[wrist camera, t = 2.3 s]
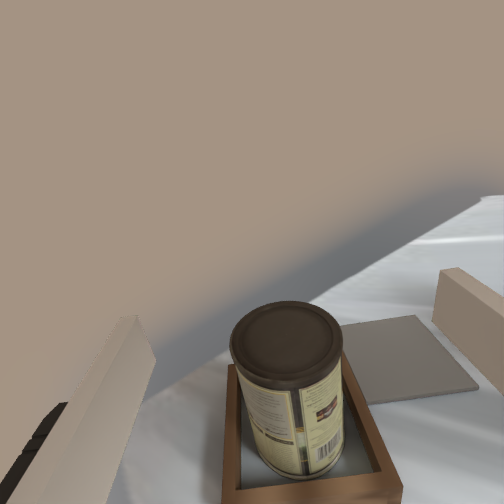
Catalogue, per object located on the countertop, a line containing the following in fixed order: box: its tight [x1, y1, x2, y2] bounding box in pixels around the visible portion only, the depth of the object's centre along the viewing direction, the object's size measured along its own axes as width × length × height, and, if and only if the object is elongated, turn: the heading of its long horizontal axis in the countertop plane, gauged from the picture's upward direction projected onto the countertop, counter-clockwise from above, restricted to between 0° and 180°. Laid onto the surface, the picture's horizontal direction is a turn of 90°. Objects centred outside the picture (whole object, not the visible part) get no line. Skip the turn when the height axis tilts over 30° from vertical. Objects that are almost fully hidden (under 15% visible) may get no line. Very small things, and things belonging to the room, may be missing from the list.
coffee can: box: [229, 301, 345, 480], centre depth 28 cm, size 10×10×14 cm
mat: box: [340, 315, 479, 405], centre depth 38 cm, size 13×13×1 cm
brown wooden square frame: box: [221, 350, 403, 504], centre depth 31 cm, size 15×15×3 cm
